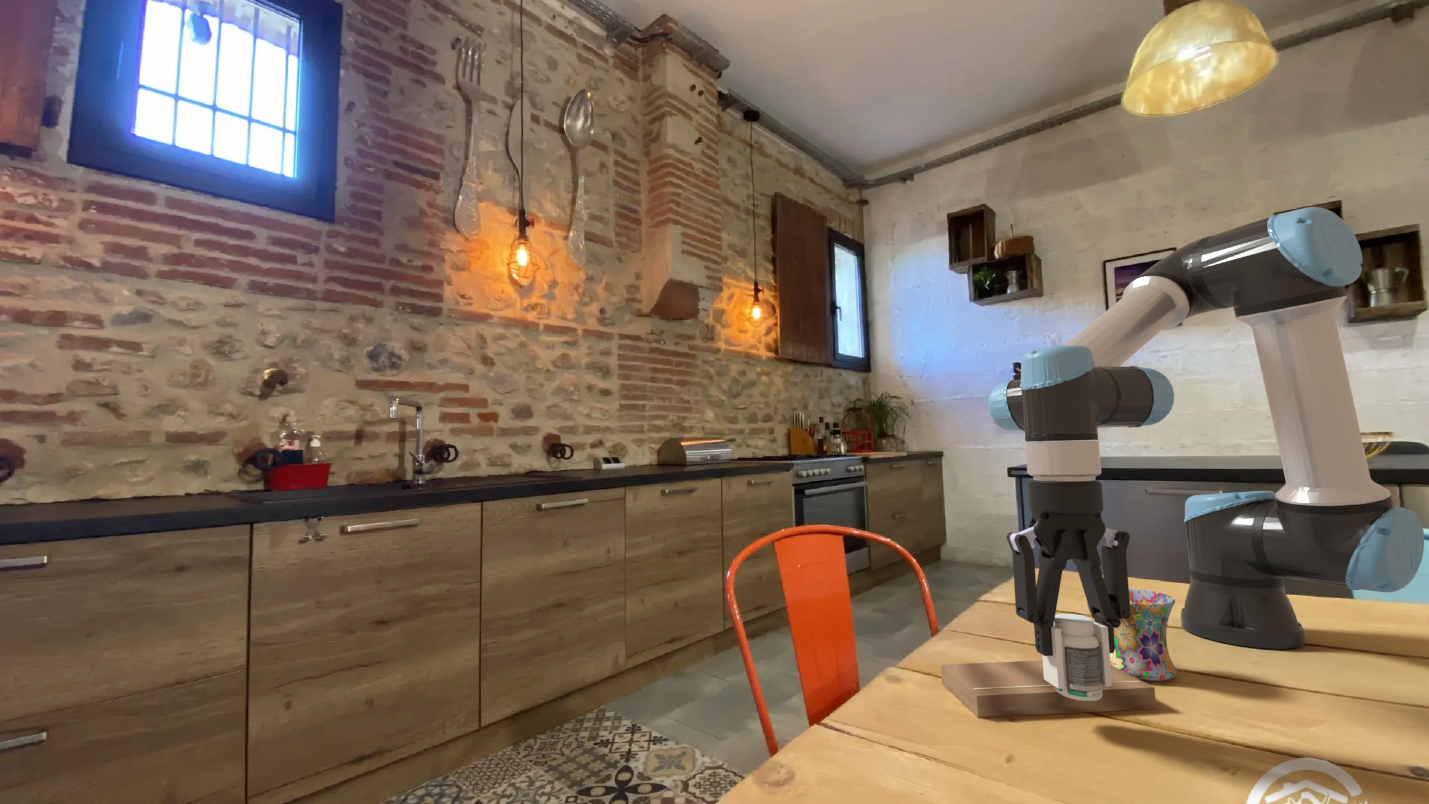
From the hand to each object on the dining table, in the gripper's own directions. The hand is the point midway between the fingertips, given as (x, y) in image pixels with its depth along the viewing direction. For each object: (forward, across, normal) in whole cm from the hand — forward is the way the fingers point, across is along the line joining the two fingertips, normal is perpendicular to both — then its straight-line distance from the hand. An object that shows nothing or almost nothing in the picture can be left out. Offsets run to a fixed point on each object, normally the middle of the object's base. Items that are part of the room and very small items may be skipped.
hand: (1077, 682), depth 68 cm
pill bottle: (+1, 0, 0) cm, 1 cm away
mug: (+5, -18, -15) cm, 24 cm away
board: (+5, -1, -8) cm, 10 cm away
